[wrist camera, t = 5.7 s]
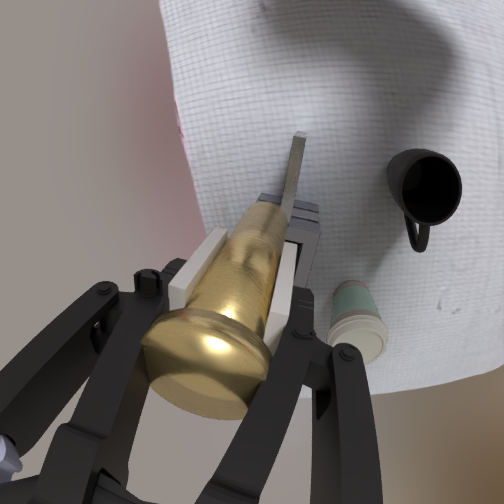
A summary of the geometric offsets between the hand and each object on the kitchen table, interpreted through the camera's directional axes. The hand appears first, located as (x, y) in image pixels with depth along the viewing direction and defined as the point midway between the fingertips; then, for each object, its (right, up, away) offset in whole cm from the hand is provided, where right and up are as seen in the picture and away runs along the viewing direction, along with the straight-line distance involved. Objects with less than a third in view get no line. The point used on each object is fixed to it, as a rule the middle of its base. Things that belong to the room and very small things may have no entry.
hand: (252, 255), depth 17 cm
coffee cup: (+16, -7, +26) cm, 31 cm away
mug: (+21, +9, +16) cm, 28 cm away
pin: (+1, +2, +5) cm, 6 cm away
